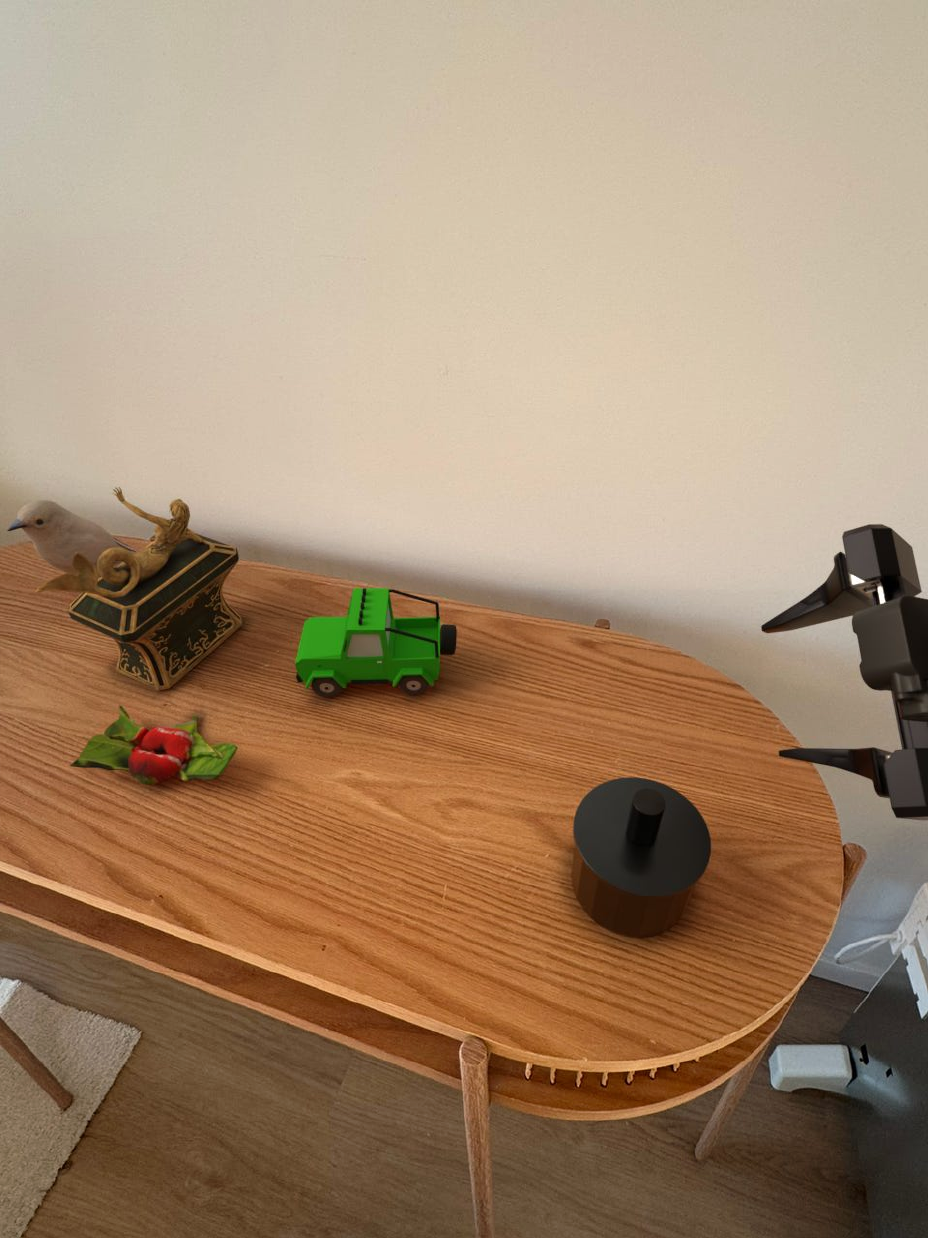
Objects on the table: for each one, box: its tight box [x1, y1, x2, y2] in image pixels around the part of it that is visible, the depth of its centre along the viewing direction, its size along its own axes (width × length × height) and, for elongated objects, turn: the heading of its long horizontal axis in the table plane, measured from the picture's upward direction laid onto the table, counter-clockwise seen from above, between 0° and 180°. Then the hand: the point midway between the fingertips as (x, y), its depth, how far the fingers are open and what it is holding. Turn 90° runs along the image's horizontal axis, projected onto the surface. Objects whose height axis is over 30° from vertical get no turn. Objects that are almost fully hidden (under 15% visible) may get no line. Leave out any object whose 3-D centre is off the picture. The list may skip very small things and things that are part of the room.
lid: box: [572, 776, 712, 899], centre depth 56 cm, size 11×11×5 cm
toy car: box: [294, 587, 458, 699], centre depth 78 cm, size 8×17×10 cm, turn 91°
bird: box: [6, 499, 138, 579], centre depth 89 cm, size 5×14×15 cm, turn 145°
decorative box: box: [35, 486, 243, 692], centre depth 78 cm, size 20×10×20 cm, turn 151°
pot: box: [570, 846, 697, 939], centre depth 60 cm, size 10×10×7 cm
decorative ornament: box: [70, 705, 238, 787], centre depth 72 cm, size 15×5×10 cm
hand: (771, 690), depth 53 cm, fingers open, 9 cm apart
